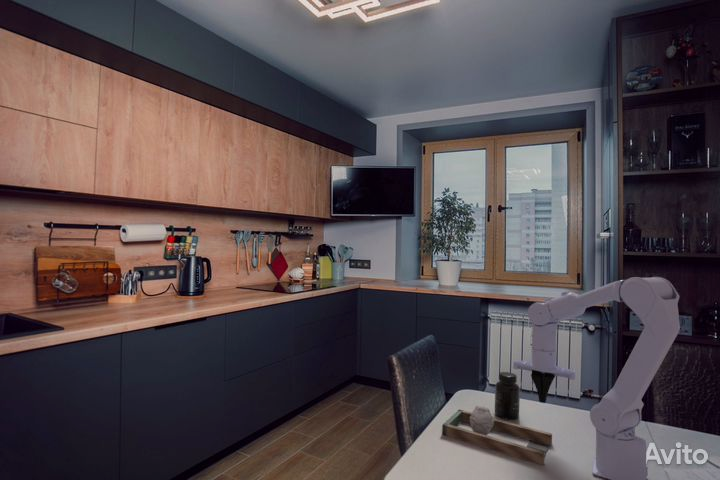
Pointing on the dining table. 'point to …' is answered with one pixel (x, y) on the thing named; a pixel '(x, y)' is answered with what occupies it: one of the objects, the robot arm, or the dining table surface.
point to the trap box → (530, 453)
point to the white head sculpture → (481, 420)
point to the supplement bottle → (507, 396)
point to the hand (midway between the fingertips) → (542, 401)
